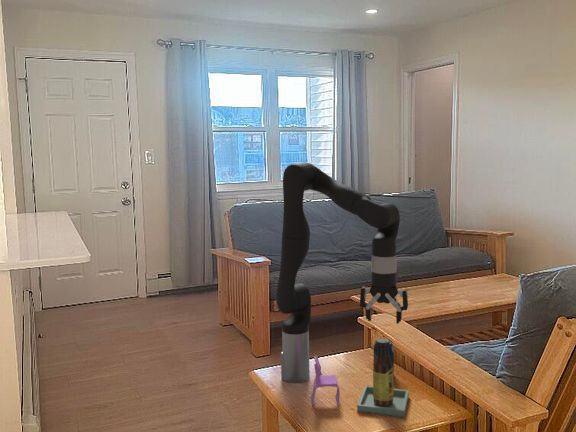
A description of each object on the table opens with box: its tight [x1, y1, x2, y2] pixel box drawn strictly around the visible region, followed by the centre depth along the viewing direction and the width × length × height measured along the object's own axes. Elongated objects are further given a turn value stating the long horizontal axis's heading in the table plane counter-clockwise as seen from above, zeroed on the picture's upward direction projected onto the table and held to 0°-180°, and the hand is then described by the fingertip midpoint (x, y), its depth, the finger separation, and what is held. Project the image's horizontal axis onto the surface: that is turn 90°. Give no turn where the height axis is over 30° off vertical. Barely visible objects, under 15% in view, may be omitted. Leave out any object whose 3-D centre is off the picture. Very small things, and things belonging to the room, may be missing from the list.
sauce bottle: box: [372, 338, 395, 406], centre depth 168 cm, size 7×6×20 cm
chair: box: [310, 355, 341, 408], centre depth 171 cm, size 8×9×15 cm
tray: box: [356, 385, 410, 419], centre depth 169 cm, size 14×14×2 cm
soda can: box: [373, 339, 395, 374], centre depth 190 cm, size 7×7×12 cm
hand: (383, 321), depth 166 cm, fingers open, 8 cm apart
